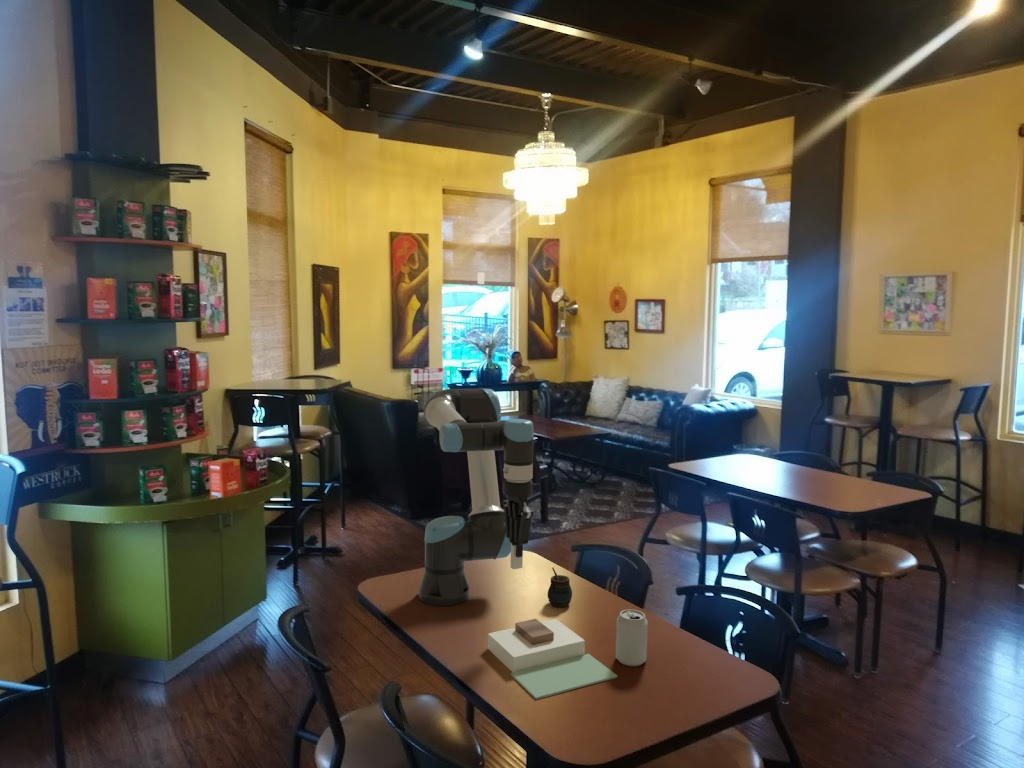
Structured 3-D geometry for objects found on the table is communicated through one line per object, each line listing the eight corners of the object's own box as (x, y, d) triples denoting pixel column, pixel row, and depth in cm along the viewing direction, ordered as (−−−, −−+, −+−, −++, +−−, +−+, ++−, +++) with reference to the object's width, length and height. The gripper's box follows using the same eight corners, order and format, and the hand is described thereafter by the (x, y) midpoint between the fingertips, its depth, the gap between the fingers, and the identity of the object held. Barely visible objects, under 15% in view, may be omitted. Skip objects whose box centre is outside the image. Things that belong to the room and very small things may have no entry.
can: (627, 670, 173) (629, 622, 171) (609, 657, 179) (610, 610, 178) (652, 664, 176) (654, 616, 175) (633, 651, 183) (635, 605, 182)
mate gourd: (559, 611, 206) (560, 577, 205) (541, 603, 212) (541, 570, 211) (577, 605, 211) (577, 571, 210) (558, 597, 216) (559, 565, 215)
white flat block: (487, 648, 183) (488, 633, 182) (555, 633, 192) (555, 618, 192) (513, 673, 170) (514, 657, 170) (584, 655, 180) (584, 640, 179)
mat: (510, 675, 170) (510, 673, 170) (588, 655, 180) (588, 653, 180) (535, 699, 159) (536, 697, 159) (617, 677, 169) (617, 675, 169)
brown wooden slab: (515, 630, 184) (515, 623, 184) (535, 626, 187) (535, 618, 187) (532, 645, 176) (532, 637, 176) (553, 640, 179) (553, 632, 179)
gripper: (493, 475, 191) (492, 561, 193) (517, 486, 179) (515, 578, 181) (518, 472, 194) (517, 557, 196) (543, 483, 183) (541, 573, 185)
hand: (516, 567), depth 189 cm, fingers closed
